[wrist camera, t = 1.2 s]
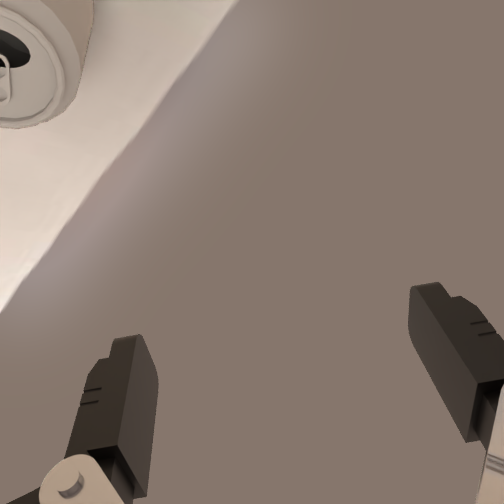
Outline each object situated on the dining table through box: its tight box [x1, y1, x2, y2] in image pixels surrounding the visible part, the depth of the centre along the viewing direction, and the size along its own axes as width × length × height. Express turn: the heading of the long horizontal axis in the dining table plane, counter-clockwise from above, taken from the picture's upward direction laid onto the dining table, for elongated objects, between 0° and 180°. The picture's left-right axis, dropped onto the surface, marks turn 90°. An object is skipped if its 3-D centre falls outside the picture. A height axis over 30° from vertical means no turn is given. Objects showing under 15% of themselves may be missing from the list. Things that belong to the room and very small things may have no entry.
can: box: [0, 0, 94, 129], centre depth 25 cm, size 8×8×12 cm
